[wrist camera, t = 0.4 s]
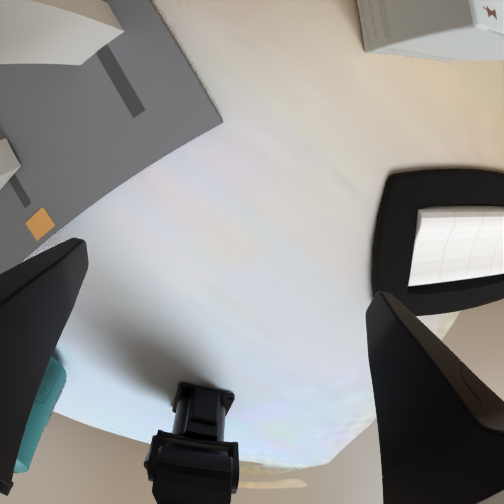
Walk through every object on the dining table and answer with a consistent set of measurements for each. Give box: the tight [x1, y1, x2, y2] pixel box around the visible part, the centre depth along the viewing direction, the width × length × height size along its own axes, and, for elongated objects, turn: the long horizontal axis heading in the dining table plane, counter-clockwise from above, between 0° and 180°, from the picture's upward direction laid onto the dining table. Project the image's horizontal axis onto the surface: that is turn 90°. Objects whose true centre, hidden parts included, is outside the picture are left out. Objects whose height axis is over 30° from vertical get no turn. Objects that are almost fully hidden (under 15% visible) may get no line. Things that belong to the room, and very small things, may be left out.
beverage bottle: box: [0, 356, 66, 496], centre depth 23 cm, size 6×7×20 cm
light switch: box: [372, 169, 504, 316], centre depth 24 cm, size 20×3×14 cm
